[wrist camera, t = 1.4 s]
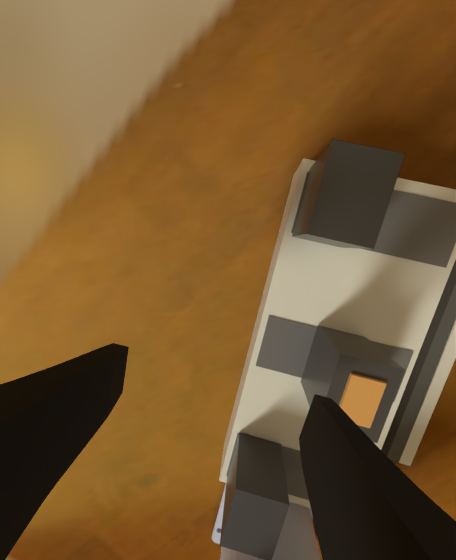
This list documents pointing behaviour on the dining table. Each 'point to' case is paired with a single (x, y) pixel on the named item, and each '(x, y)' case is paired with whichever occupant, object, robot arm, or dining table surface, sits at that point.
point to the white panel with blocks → (330, 316)
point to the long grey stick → (425, 380)
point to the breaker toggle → (352, 377)
